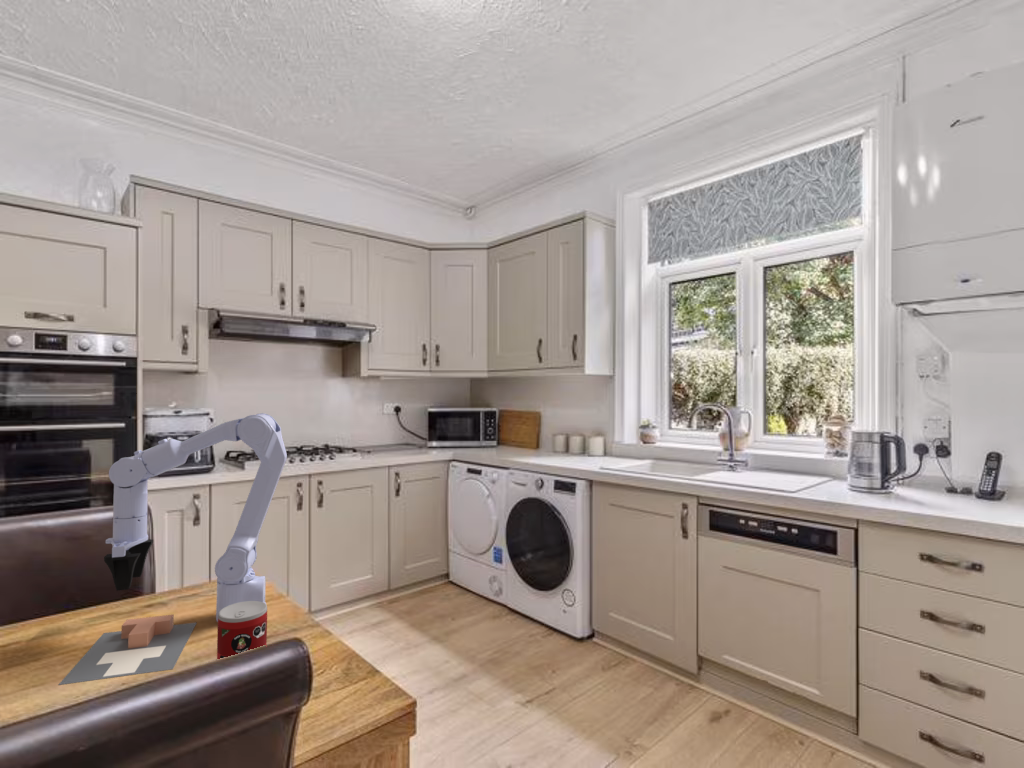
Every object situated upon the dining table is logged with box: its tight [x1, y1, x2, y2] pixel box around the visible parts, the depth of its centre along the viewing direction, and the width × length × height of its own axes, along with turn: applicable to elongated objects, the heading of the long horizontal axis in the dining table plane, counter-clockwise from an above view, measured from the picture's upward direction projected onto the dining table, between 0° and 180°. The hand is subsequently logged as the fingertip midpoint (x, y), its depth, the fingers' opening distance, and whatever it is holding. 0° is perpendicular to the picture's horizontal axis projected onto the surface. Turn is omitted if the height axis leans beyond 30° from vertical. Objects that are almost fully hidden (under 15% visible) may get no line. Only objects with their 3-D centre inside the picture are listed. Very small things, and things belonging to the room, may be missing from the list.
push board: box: [58, 621, 197, 686], centre depth 99 cm, size 16×20×1 cm
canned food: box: [216, 601, 268, 660], centre depth 93 cm, size 8×8×11 cm
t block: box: [120, 614, 175, 649], centre depth 104 cm, size 8×8×2 cm
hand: (129, 583), depth 110 cm, fingers open, 7 cm apart
